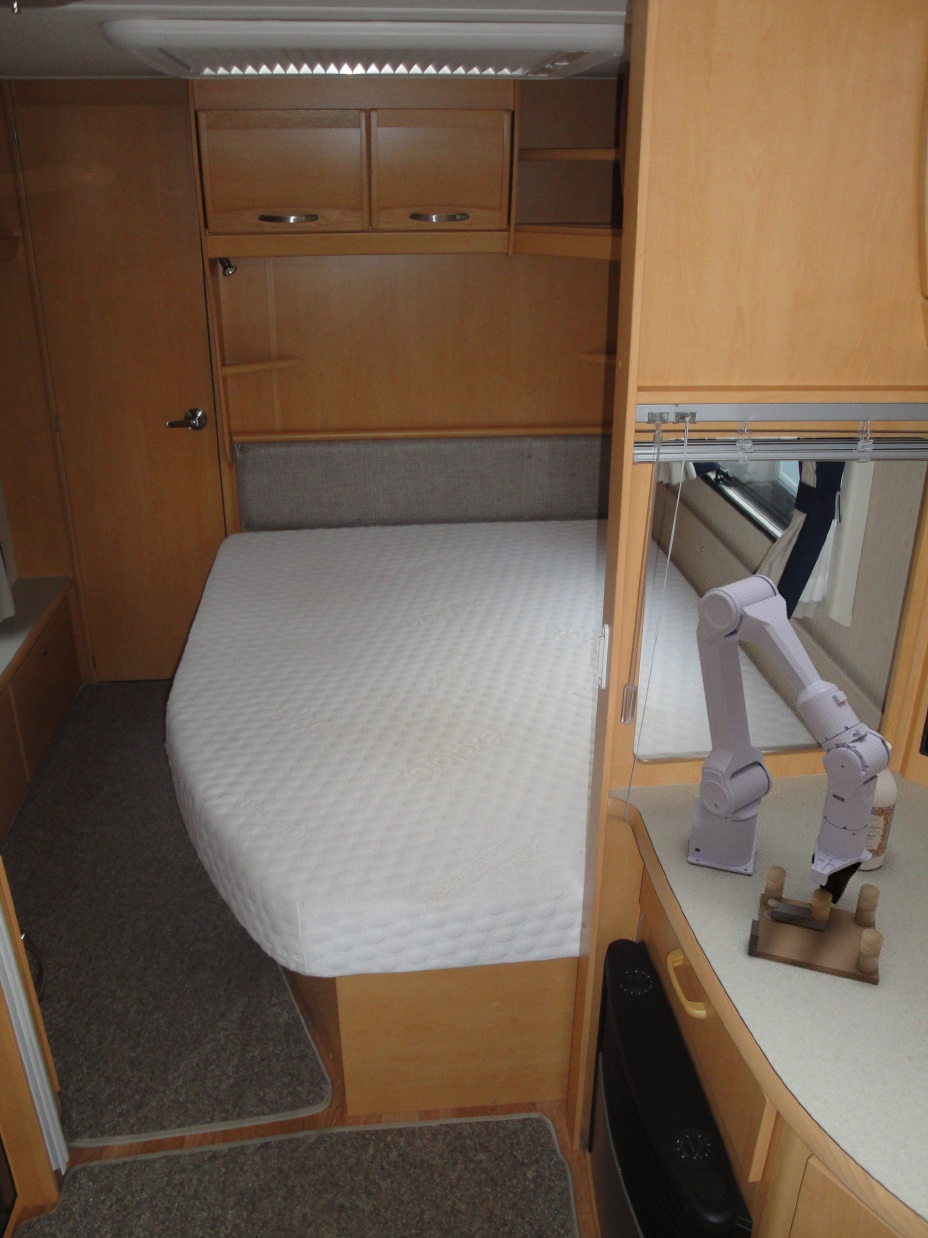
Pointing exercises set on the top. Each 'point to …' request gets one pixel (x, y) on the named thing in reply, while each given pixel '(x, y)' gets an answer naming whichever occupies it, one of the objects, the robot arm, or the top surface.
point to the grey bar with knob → (804, 911)
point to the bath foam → (880, 818)
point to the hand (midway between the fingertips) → (830, 899)
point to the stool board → (820, 935)
